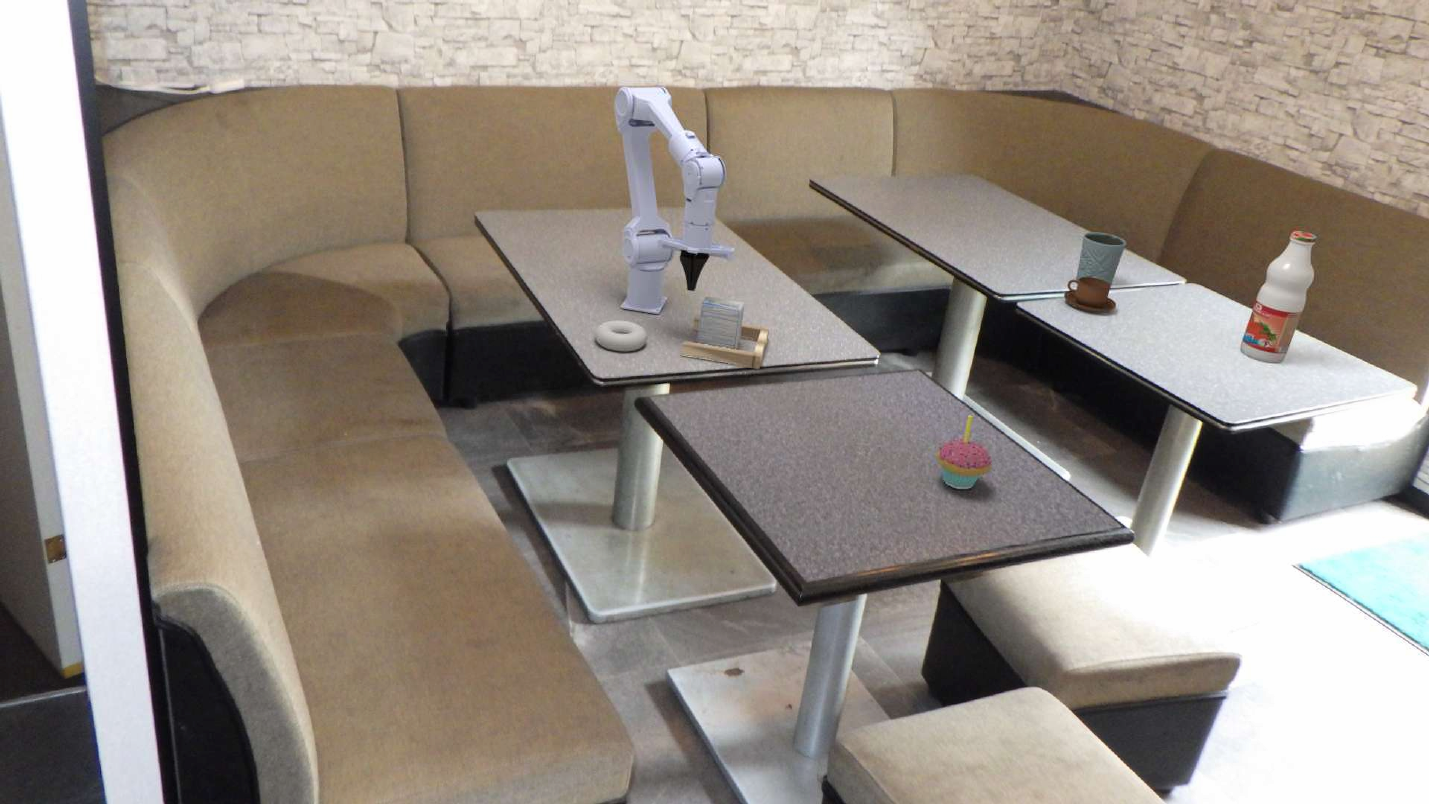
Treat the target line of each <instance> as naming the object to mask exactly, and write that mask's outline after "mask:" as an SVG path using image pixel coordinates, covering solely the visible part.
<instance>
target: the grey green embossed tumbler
mask: <svg viewBox="0 0 1429 804" xmlns="http://www.w3.org/2000/svg"><path fill="white" fill-rule="evenodd" d="M1126 245H1127V242H1126V240H1125V239H1123V238H1121V237H1120V236H1116V235H1114V234H1110V233H1104V232H1098V231H1097V232H1095V231H1094V232H1093V231H1090V232H1086V233H1084V234H1083V237H1082V245H1081V249H1080V251H1081V252H1080V255H1079V263H1078V266H1077V273H1076V276H1075V280H1078V281H1079V278H1081V277H1092V278H1097V279H1101V280H1104V281H1106V282H1108V283H1109V284H1110V285H1111V286H1112V284H1113V279H1114V278H1115V275H1116V273H1117V270H1118V267H1119V264H1120V261H1121V257H1122V256H1123V253H1124V251H1125V247H1126Z"/></svg>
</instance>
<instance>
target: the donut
mask: <svg viewBox="0 0 1429 804" xmlns="http://www.w3.org/2000/svg"><path fill="white" fill-rule="evenodd" d="M594 337H595V340H596V342H597V343H598V345H599V346H601V347H602V348H605V349H607V350H610V351H615V352H625V353H626V352H634V351H637V350H640V349H641V348H642V347H644V346H645V345H646V344H647V340H648V334H647V332H646V330H645V328H643V327H642V326H641V325H639V324H637V323H635V322H633V321H629V320H627V321H626V320H620V319H619V320H608V321H605V322H602V323H601V324H600V325H598V326H597V327H596V330H595V333H594Z"/></svg>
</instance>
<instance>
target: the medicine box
mask: <svg viewBox="0 0 1429 804" xmlns="http://www.w3.org/2000/svg"><path fill="white" fill-rule="evenodd" d="M744 308H745V302H743V301H738V300H731V299H725V298H720V297H714V296H707V295H706V296H705V298H704V299H703V300H702V302H701V304H700V315H699V317H700V321H699V330H698V331H697V341H696V343H700V344H708V345H711V346H718V347H726V348H730V349H735V350H738V347H739V344H740V342H741V338H740V336H741V327H742V324H743V318H744V311H745V309H744Z"/></svg>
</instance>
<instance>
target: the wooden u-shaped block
mask: <svg viewBox="0 0 1429 804" xmlns="http://www.w3.org/2000/svg"><path fill="white" fill-rule="evenodd" d="M699 321H700V316H697V315H696V316H694V319H693V326H692V331H693V330H695V332H698V330H699ZM769 333H770V328H769V327H763V326H758V325H757V326H756V325H751V324H745V323H742V327H741V336H740V339H742V338H746V339H745V340H748V339H751V340H750V341H754V340H756V341H755V342H756V344H755V348H754V350H753V352H752V351H746V350H741V349H736V350H734V349H728V348H722V347H716V346H710V345H704V344H698V343H697V342H691V341H685V340H683V341H682V344H681V353H680V356H681V355H686V356H693V357H697V358H707V359H711V360H714V361H723V362H725V363H728V364H727V365H731V364H734V365H733V366H737V365H739V366H738V367H745V368H751V369H755V370H756V369H757V370H760V367H761V364H762V360H763V357H764V355H765V354H764V353H765V350H766V347H767V344H766V343H768V339H769ZM725 363H724V364H725Z"/></svg>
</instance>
